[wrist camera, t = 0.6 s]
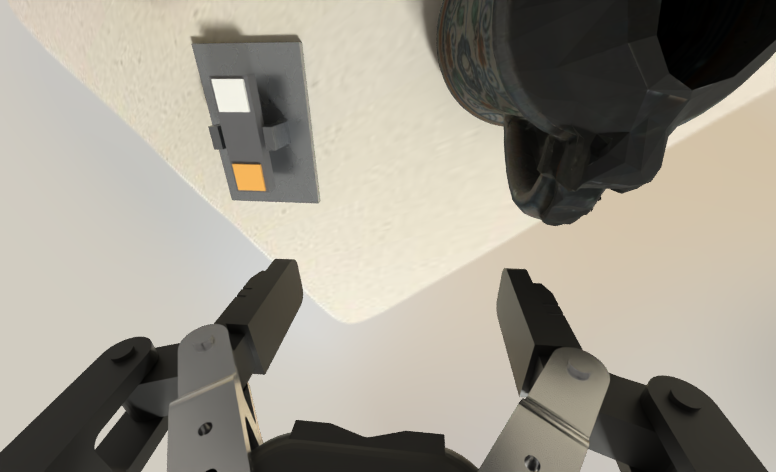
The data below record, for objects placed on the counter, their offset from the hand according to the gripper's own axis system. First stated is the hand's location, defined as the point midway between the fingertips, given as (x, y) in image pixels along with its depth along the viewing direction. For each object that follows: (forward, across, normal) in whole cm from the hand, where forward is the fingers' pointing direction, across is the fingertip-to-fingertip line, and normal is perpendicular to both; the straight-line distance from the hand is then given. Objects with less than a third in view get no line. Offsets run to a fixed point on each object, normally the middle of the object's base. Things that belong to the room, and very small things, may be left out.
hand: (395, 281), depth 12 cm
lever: (+23, +18, -1) cm, 30 cm away
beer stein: (+28, -11, -8) cm, 31 cm away
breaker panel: (+28, +18, -1) cm, 33 cm away
